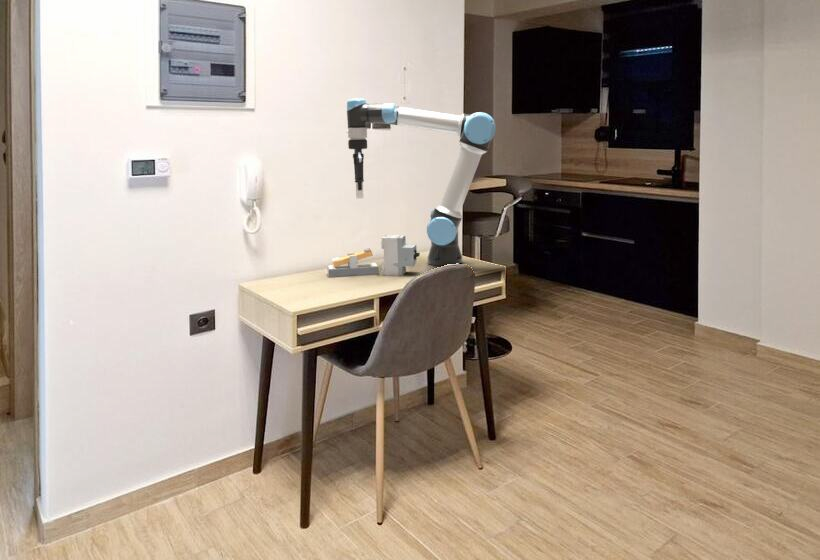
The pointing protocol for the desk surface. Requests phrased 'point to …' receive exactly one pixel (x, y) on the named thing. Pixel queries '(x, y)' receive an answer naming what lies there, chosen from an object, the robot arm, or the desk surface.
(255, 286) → the desk surface
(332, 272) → the grey block
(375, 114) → the robot arm
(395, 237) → the circuit breaker
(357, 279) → the desk surface
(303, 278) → the desk surface
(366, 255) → the lever
